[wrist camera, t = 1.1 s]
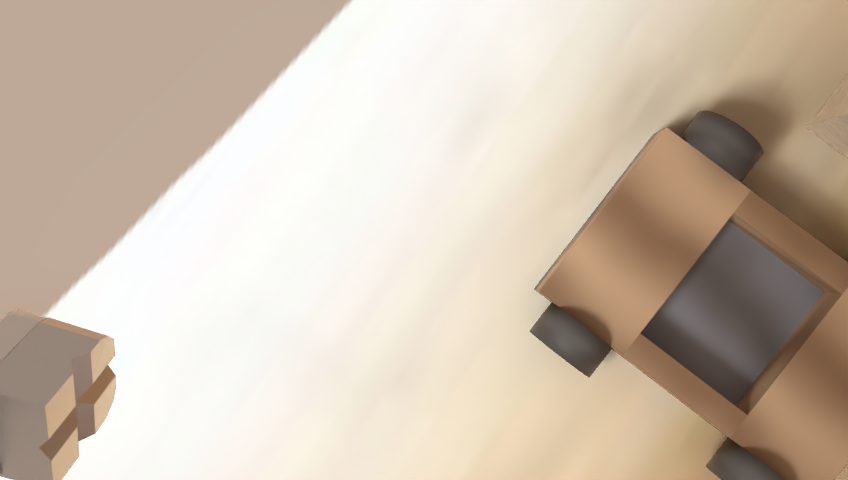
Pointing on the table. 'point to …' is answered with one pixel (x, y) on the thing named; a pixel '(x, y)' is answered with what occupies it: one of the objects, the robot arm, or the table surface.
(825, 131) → the engine block
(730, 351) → the chassis
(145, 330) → the table surface
